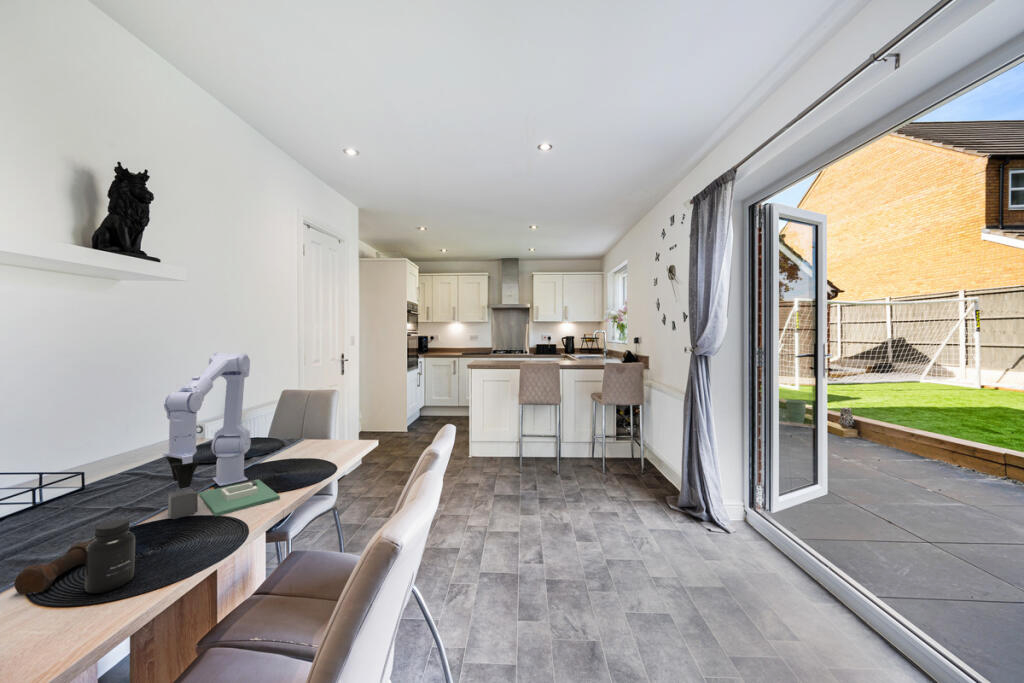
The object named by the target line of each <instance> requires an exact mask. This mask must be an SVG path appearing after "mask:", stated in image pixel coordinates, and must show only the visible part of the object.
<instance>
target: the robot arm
mask: <svg viewBox="0 0 1024 683" xmlns="http://www.w3.org/2000/svg"><path fill="white" fill-rule="evenodd" d="M250 367H251V360H250V357H249V355H248V354H247V353H246V352H245V353H243V352H242V353H230V352H229V353H225V352H224V353H223V352H222V353H219V352H214V353H212V355H211V356H210V357H209V358H208V366H207V367H206V368H205V370H204V371H203V372H201V374H199V375H193V376H192V378H191V379H190V380H189V381H187V382H186V383H185V385H183V386H182V387H181V388H180V389H179V390H178V391H173V392H171V393H170V394H169V393H168V395H167V396H166V397H165V401H164V403H163V408H164V410H165V412H166V418H167V420H169V426H168V428H169V430H168V432H169V433H168V434H169V436H168V437H169V438H168V451H165V452H163V453H162V457H165V459H166V460H167V461H168V463H169V466H170V469H171V473H172V478H173V481H174V482H177V484H178V488H179V489H180V490H181V489H185V488H190V487H191V483H192V480H193V477H194V474H195V471H196V469H197V468H198V466H199V464H200V460H198V459H197V460H193V458H194V455H195V454H196V453H197V451H198V448H197V422H198V421H197V419H198V418H197V417H198V416H197V415H198V414H197V413H198V411H199V410H201V408H202V405H203V401H204V400H205V396H207V394H208V393H210V391H211V390H213V387H214V382H215V381H216V380H217V379H218V378H219V377H222V378H224V380H225V381H226V386H225V387H226V388H225V396H224V397H225V398H224V410H223V412H224V413H223V425H222V427H221V428H220V429H218V430H217V431H215V432H214V436H213V438H212V439H213V440H212V442H211V451H212V453H213V454H214V455H215V456H216V458H217V459H216V474H215V476H214V477H212V480H213V481H214V482H215V483H216V484H217V486H219V487H222V486H223V487H224V486H229V485H233V484H238V483H242V482H247V481H249V480H248V479H249V478H247V477H246V476H245V454H246V453H248V451H249V450H250V448H251V444H252V440H251V433H250V432H251V431H250V430H249V429H248V428H246V427H244V426H243V425H242V419H243V418H242V416H243V405H244V404H243V403H244V391H245V379H246V378H248V377H249V375H250V369H251V368H250Z"/></svg>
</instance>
